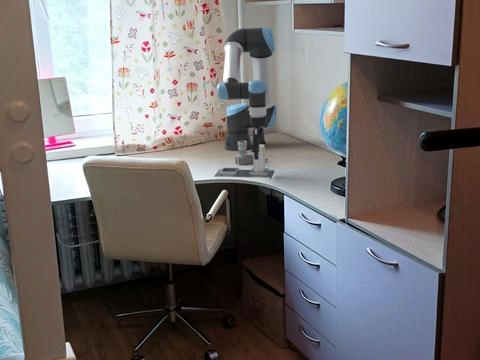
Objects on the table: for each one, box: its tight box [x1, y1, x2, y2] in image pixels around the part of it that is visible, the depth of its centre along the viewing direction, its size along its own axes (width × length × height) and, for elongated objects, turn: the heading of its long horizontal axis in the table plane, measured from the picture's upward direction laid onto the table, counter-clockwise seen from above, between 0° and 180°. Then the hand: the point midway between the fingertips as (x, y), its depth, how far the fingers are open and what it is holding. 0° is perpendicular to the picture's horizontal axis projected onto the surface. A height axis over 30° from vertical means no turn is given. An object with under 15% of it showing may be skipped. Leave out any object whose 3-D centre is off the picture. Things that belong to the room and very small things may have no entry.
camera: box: [234, 141, 269, 166], centre depth 310 cm, size 9×12×15 cm
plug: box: [252, 144, 266, 172], centre depth 289 cm, size 4×5×13 cm
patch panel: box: [213, 167, 275, 180], centre depth 292 cm, size 12×26×2 cm, turn 79°
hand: (259, 162), depth 289 cm, fingers open, 13 cm apart
